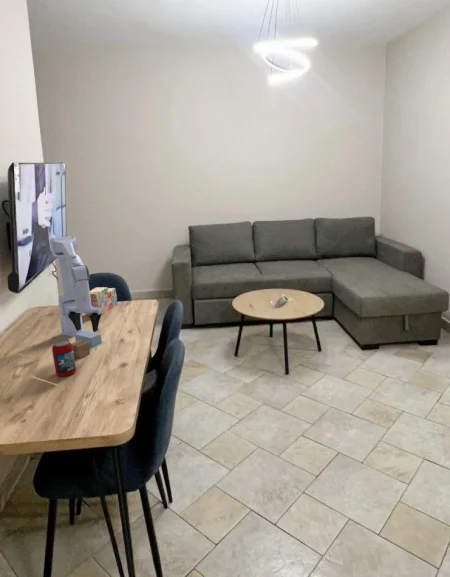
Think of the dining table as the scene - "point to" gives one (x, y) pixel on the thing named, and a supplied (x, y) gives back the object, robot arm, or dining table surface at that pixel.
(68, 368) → the beverage can
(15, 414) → the dining table surface
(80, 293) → the robot arm
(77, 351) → the walnut cube
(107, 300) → the stack of blocks
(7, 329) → the dining table surface
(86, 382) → the dining table surface
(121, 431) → the dining table surface
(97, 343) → the base block
